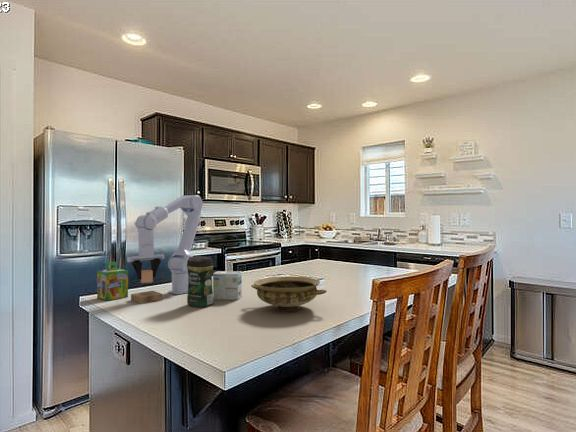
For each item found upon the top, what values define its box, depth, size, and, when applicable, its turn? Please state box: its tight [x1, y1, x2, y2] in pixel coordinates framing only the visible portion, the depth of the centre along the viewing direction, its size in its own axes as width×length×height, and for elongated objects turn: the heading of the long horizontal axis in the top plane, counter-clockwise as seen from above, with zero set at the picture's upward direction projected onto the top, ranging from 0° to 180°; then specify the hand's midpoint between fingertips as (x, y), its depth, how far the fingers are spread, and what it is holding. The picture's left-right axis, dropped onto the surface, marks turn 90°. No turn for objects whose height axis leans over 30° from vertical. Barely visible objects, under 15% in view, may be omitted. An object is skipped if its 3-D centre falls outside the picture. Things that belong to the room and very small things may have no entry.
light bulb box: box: [212, 270, 243, 301], centre depth 150 cm, size 11×7×11 cm, turn 84°
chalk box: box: [96, 261, 129, 301], centre depth 153 cm, size 9×9×15 cm
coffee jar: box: [186, 255, 214, 308], centre depth 139 cm, size 10×8×19 cm
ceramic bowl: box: [251, 276, 327, 312], centre depth 132 cm, size 30×24×10 cm
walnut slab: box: [130, 290, 163, 305], centre depth 148 cm, size 9×9×3 cm
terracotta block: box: [140, 269, 154, 284], centre depth 147 cm, size 4×4×4 cm
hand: (146, 278), depth 148 cm, fingers closed on terracotta block, 5 cm apart
